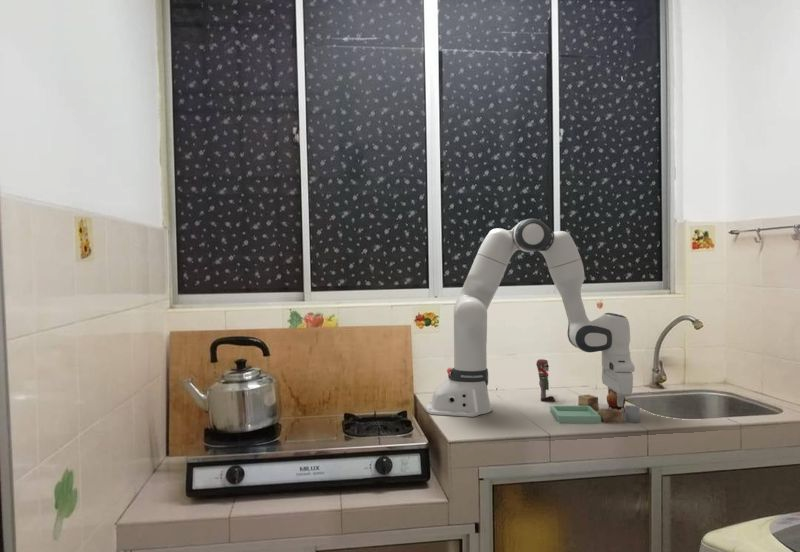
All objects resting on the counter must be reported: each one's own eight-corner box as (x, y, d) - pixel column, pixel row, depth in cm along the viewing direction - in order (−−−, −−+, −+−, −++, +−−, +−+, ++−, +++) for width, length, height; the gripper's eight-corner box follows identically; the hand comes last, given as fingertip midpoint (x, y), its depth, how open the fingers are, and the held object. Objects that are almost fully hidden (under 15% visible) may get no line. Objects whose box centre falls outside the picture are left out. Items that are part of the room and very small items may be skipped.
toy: (556, 406, 189) (556, 363, 188) (537, 406, 190) (537, 363, 190) (552, 394, 206) (552, 355, 206) (535, 394, 207) (535, 355, 207)
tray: (558, 422, 170) (558, 416, 170) (550, 411, 183) (550, 405, 183) (601, 423, 169) (601, 416, 169) (589, 411, 182) (589, 405, 182)
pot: (625, 417, 177) (625, 410, 183) (625, 393, 176) (625, 387, 182) (606, 415, 179) (607, 408, 185) (606, 392, 178) (606, 386, 184)
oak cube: (587, 411, 182) (587, 398, 182) (578, 408, 186) (578, 395, 186) (598, 410, 184) (598, 397, 184) (589, 407, 188) (588, 394, 188)
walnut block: (603, 423, 169) (603, 412, 169) (598, 420, 173) (597, 409, 173) (622, 423, 169) (622, 412, 169) (616, 419, 173) (615, 408, 173)
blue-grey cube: (628, 423, 169) (628, 408, 168) (624, 419, 173) (624, 405, 172) (641, 423, 168) (641, 408, 168) (637, 419, 172) (637, 405, 172)
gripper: (597, 356, 191) (597, 395, 191) (615, 367, 170) (616, 411, 171) (615, 356, 190) (615, 395, 191) (636, 367, 170) (636, 411, 170)
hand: (616, 403), depth 180 cm, fingers closed on pot, 6 cm apart
